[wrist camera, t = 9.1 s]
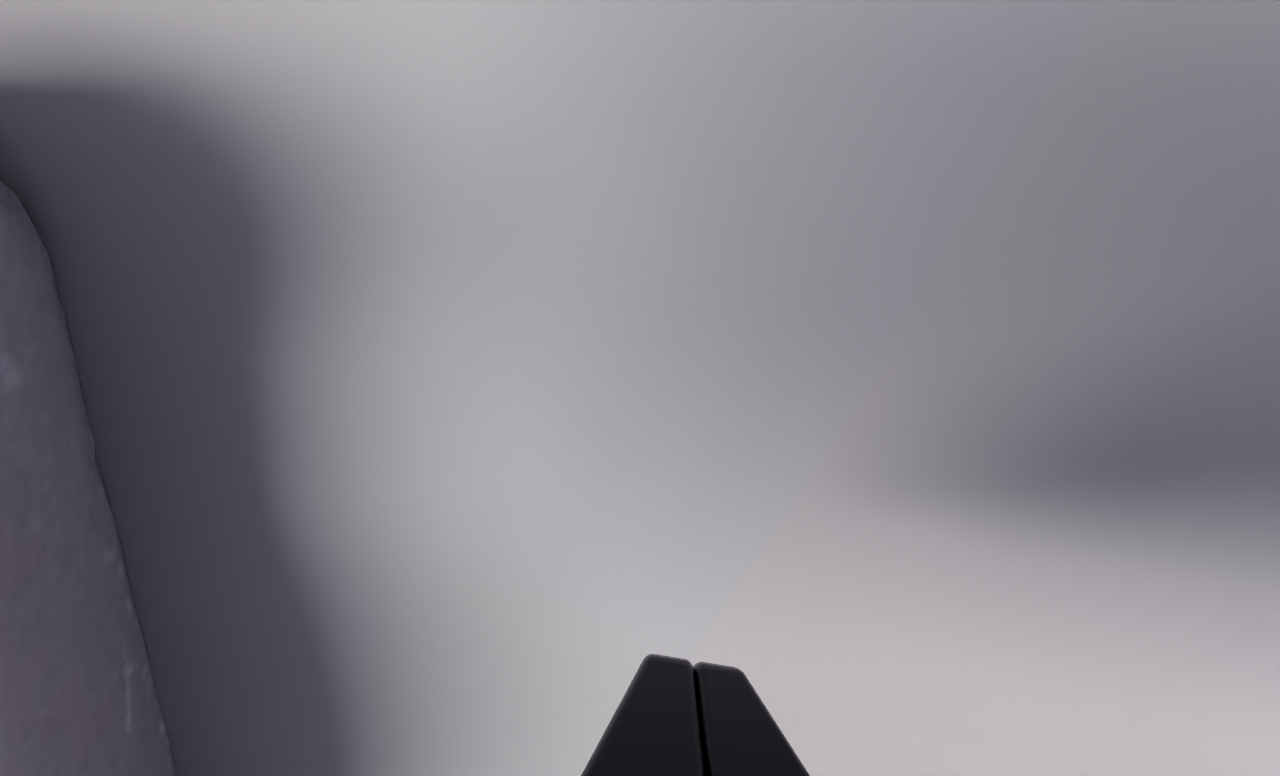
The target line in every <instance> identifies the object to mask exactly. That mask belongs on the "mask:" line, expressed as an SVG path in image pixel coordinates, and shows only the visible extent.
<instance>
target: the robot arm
mask: <svg viewBox="0 0 1280 776" xmlns="http://www.w3.org/2000/svg"><path fill="white" fill-rule="evenodd" d="M581 776H810V775H809V774H808V772H807V771H806V769H805V767H804V766H803V764H802V763H801V761H800V760H799V758H798V757H797V755H796V753H795V752H794V750H793V749H792V747H791V746H790V744H789V743H788V741H787V739H786V738H785V736H784V735H783V733H782V732H781V730H780V729H779V727H778V726H777V724H776V722H775V721H774V719H773V718H772V716H771V715H770V713H769V712H768V710H767V708H766V707H765V705H764V704H763V702H762V701H761V699H760V698H759V696H758V694H757V693H756V691H755V690H754V688H753V687H752V685H751V684H750V682H749V680H748V679H747V677H746V676H745V675H744V673H743V672H742V671H740V670H739V669H737V668H735V667H730V666H724V665H718V664H711V663H705V662H699V663H697V664H695V665H694V666H692V664H691V663H690V662H689V661H688V660H686V659H681V658H674V657H668V656H662V655H656V654H650V655H648V656H646V657H645V658H644V660H643V662H642V663H641V665H640V667H639V669H638V671H637V673H636V675H635V677H634V678H633V680H632V682H631V684H630V686H629V688H628V690H627V691H626V693H625V695H624V697H623V699H622V701H621V703H620V704H619V706H618V708H617V710H616V712H615V714H614V716H613V718H612V719H611V721H610V723H609V725H608V727H607V729H606V731H605V732H604V734H603V736H602V738H601V740H600V742H599V744H598V745H597V747H596V749H595V751H594V753H593V755H592V757H591V759H590V760H589V762H588V764H587V766H586V768H585V770H584V772H583V773H582V775H581Z"/></svg>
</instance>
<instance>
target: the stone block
mask: <svg viewBox="0 0 1280 776" xmlns="http://www.w3.org/2000/svg"><path fill="white" fill-rule="evenodd" d="M0 776H177V775H176V771H175V766H174V761H173V756H172V751H171V745H170V741H169V737H168V733H167V729H166V725H165V721H164V718H163V714H162V710H161V707H160V703H159V699H158V695H157V692H156V688H155V684H154V679H153V674H152V669H151V665H150V661H149V657H148V653H147V649H146V645H145V641H144V637H143V633H142V629H141V625H140V622H139V619H138V616H137V613H136V609H135V605H134V601H133V596H132V592H131V588H130V584H129V580H128V577H127V573H126V568H125V562H124V557H123V553H122V548H121V543H120V539H119V535H118V531H117V527H116V523H115V519H114V516H113V514H112V511H111V508H110V505H109V502H108V499H107V496H106V493H105V490H104V486H103V482H102V478H101V474H100V472H99V470H98V467H97V465H96V463H95V447H94V442H93V437H92V432H91V428H90V423H89V419H88V416H87V412H86V408H85V404H84V400H83V395H82V391H81V386H80V382H79V377H78V371H77V366H76V360H75V356H74V352H73V348H72V345H71V341H70V338H69V334H68V330H67V327H66V317H65V313H64V310H63V308H62V305H61V303H60V300H59V298H58V294H57V290H56V286H55V280H54V274H53V269H52V265H51V262H50V258H49V255H48V252H47V250H46V248H45V246H44V244H43V242H42V240H41V238H40V236H39V235H38V233H37V231H36V229H35V227H34V225H33V223H32V222H31V220H30V218H29V216H28V214H27V213H26V211H25V209H24V207H23V206H22V204H21V202H20V200H19V199H18V197H17V195H16V193H15V192H13V191H12V190H11V189H10V188H8V187H7V186H6V185H5V184H3V183H2V182H1V181H0Z"/></svg>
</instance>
